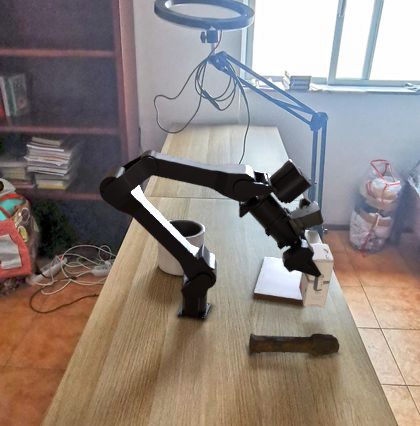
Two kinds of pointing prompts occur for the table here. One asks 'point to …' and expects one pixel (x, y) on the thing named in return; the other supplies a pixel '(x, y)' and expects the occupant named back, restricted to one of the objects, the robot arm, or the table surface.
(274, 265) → the walnut board
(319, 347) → the hand tool
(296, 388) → the table surface
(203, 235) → the planter
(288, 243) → the robot arm
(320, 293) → the ink box
